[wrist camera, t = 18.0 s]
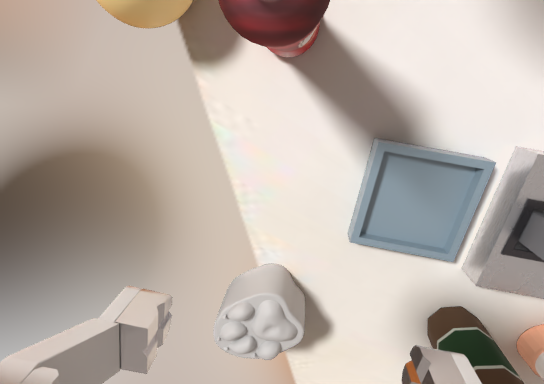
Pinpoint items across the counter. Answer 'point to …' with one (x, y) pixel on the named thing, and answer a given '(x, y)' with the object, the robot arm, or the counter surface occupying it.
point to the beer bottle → (470, 344)
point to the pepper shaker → (533, 349)
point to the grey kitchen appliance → (510, 230)
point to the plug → (534, 233)
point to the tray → (418, 199)
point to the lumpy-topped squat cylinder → (261, 314)
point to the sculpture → (146, 11)
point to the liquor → (277, 22)
